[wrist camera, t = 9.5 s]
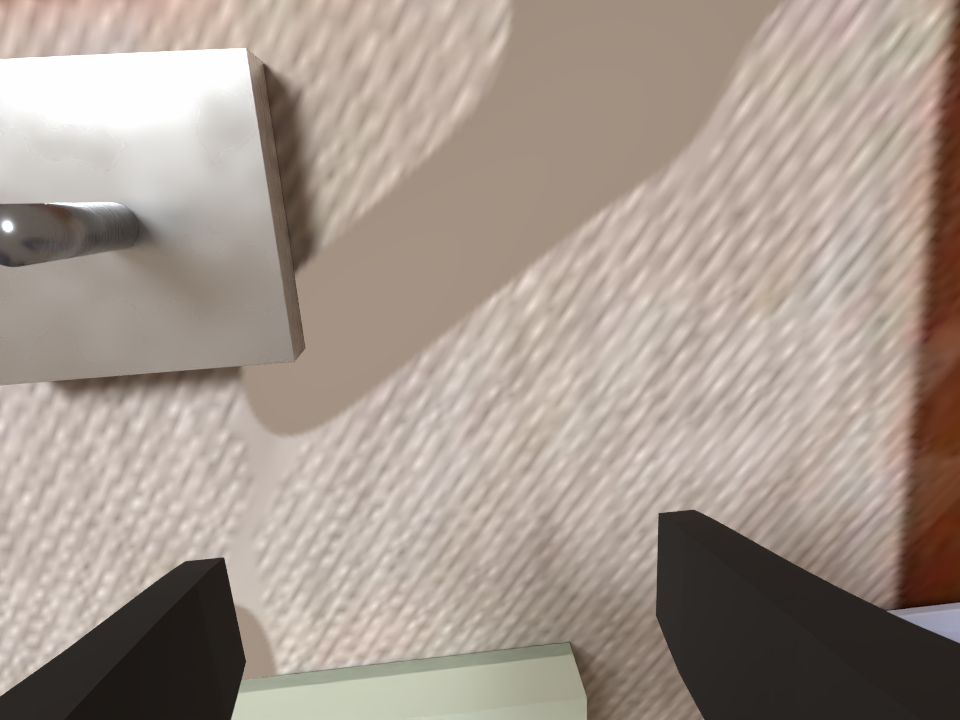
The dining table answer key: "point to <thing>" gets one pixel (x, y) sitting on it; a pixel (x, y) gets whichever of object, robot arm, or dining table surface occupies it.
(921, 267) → the dining table surface
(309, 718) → the tray
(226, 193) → the silver peg base
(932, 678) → the robot arm
